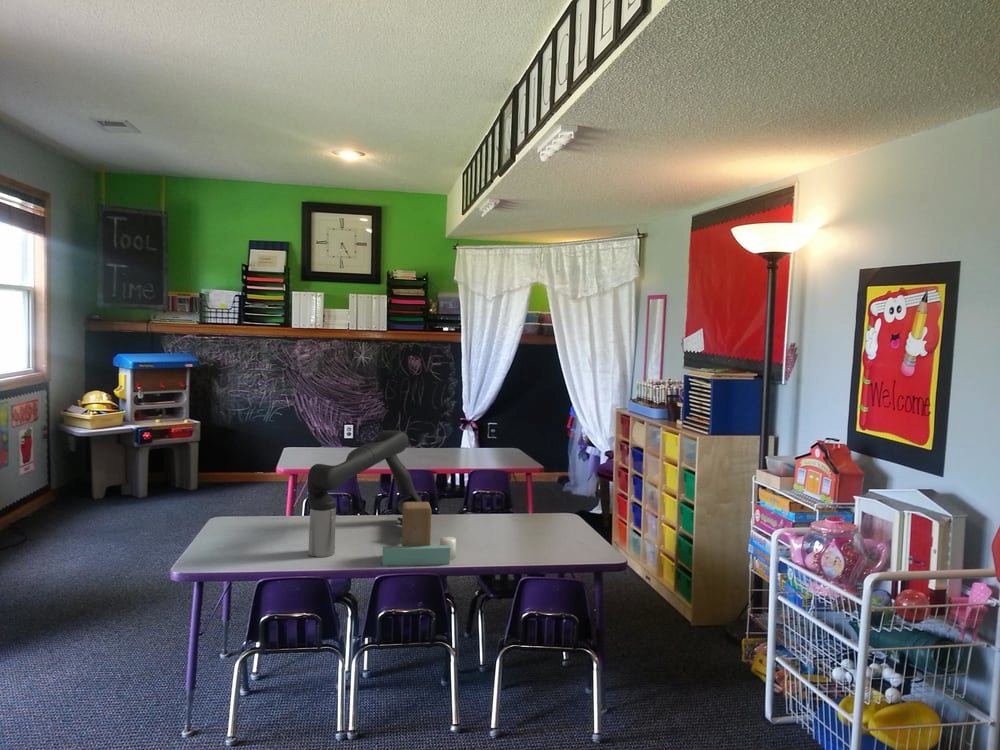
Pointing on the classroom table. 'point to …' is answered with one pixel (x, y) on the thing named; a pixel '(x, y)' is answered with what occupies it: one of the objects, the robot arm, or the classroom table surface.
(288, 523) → the classroom table surface
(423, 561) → the teal block
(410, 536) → the wooden block
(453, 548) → the cream rounded cylinder
